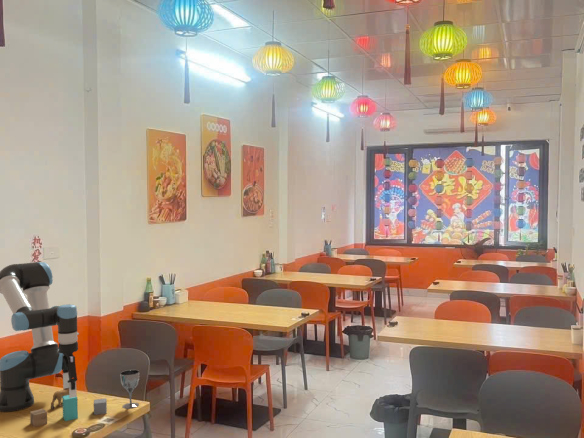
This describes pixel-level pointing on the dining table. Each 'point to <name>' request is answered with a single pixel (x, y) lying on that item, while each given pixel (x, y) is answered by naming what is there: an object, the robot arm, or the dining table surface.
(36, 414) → the walnut block
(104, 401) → the grey block
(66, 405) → the teal block
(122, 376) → the wine glass
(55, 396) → the lion figurine
